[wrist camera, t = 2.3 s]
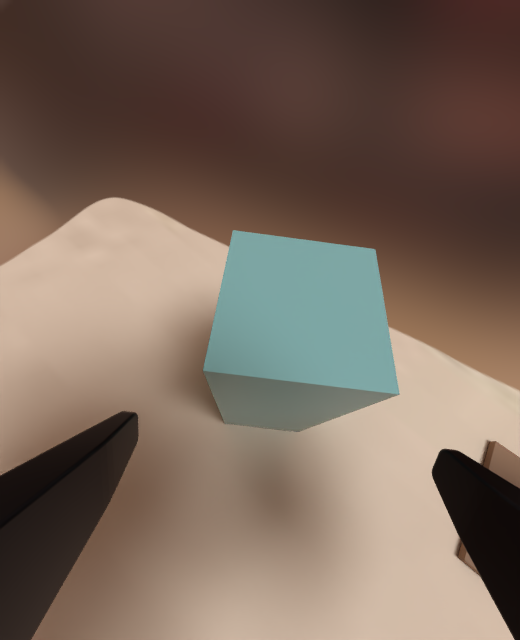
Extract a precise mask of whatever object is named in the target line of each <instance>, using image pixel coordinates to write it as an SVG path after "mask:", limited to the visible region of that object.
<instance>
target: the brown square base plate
mask: <svg viewBox="0 0 520 640" xmlns="http://www.w3.org/2000/svg"><path fill="white" fill-rule="evenodd" d="M483 466H484V467H486V468H487V469H489V470H491V471H492V472H494V473H495V474H497V475H499V476H500V477H502V478H504V479H505V480H507V481H508V482H510V483H512V484H513V485H515V486H517V487H518V488H520V458H519V457H518V456H517V455H515V454H514V453H512V452H511V451H509V450H508V449H506V448H505V447H504V446H502V445H501V444H499V443H498V442H496V441H493V442H490V443H489V447H488V450H487V454H486V457H485V461H484V465H483ZM458 558H459V559H461V560H462V561H463V562H464V563H465V564H467V565H468V566H469V567H470V568H471V569H473V570H474V571H475V572H476V573H477V574H478V575H479V573H478V571H477V569H476V567H475V566H474V564H473V562H472V560H471V558H470V556H469V554H468V553H467V551H466V549H465V547H464V545H463V543H462V544H461V547H460V551H459V554H458Z"/></svg>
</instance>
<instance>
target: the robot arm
mask: <svg viewBox="0 0 520 640" xmlns="http://www.w3.org/2000/svg"><path fill="white" fill-rule="evenodd" d="M137 441H138V415H137V413H135V412H127V411H122V412H119V413H118V414H116V415H114V416H112V417H110V418H108V419H106V420H104V421H102V422H101V423H99V424H97V425H95V426H93V427H91V428H89V429H87V430H85V431H84V432H82V433H80V434H78V435H76V436H74V437H72V438H70V439H68V440H67V441H65V442H63V443H61V444H59V445H57V446H55V447H53V448H51V449H50V450H48V451H46V452H44V453H42V454H40V455H38V456H36V457H34V458H33V459H31V460H29V461H27V462H25V463H23V464H21V465H19V466H17V467H16V468H14V469H12V470H10V471H8V472H6V473H4V474H2V475H0V640H31V639H32V637H33V635H34V633H35V632H36V630H37V628H38V626H39V625H40V623H41V621H42V619H43V618H44V616H45V614H46V613H47V611H48V609H49V607H50V606H51V604H52V602H53V600H54V599H55V597H56V595H57V593H58V592H59V590H60V588H61V586H62V585H63V583H64V581H65V579H66V578H67V576H68V574H69V572H70V571H71V569H72V567H73V565H74V564H75V562H76V560H77V558H78V557H79V555H80V553H81V552H82V550H83V548H84V546H85V545H86V543H87V541H88V539H89V538H90V536H91V534H92V532H93V531H94V529H95V527H96V525H97V524H98V522H99V520H100V518H101V517H102V515H103V513H104V511H105V510H106V508H107V506H108V504H109V502H110V500H111V498H112V496H113V494H114V492H115V490H116V488H117V486H118V483H119V481H120V479H121V477H122V475H123V472H124V470H125V468H126V466H127V464H128V462H129V459H130V457H131V455H132V453H133V451H134V448H135V446H136V444H137ZM432 476H433V480H434V482H435V484H436V486H437V489H438V491H439V493H440V495H441V497H442V500H443V502H444V504H445V506H446V509H447V511H448V513H449V515H450V517H451V520H452V522H453V524H454V526H455V529H456V531H457V533H458V535H459V537H460V539H461V541H462V543H463V545H464V547H465V549H466V551H467V553H468V554H469V556H470V558H471V560H472V562H473V564H474V566H475V567H476V569H477V571H478V573H479V575H480V577H481V578H482V580H483V582H484V584H485V586H486V588H487V590H488V591H489V593H490V595H491V597H492V599H493V601H494V602H495V604H496V606H497V608H498V610H499V612H500V614H501V615H502V617H503V619H504V621H505V623H506V625H507V627H508V628H509V630H510V632H511V634H512V636H513V638H514V639H515V640H520V488H518V487H517V486H515V485H513V484H512V483H510V482H508V481H507V480H505V479H504V478H502V477H500V476H499V475H497V474H495V473H494V472H492V471H491V470H489V469H487V468H486V467H484V466H483V465H481V464H479V463H478V462H476V461H474V460H473V459H471V458H470V457H468V456H466V455H465V454H463V453H461V452H460V451H457V450H452V449H442V450H441V451H440V452H439V454H438V457H437V459H436V461H435V464H434V466H433V469H432Z"/></svg>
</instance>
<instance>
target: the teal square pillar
mask: <svg viewBox="0 0 520 640" xmlns="http://www.w3.org/2000/svg"><path fill="white" fill-rule="evenodd" d="M203 372H204V375H205V377H206V380H207V382H208V384H209V387H210V389H211V392H212V394H213V397H214V399H215V401H216V404H217V406H218V409H219V411H220V413H221V416H222V418H223V421H224V423H225V424H234V425H243V426H251V427H260V428H268V429H277V430H286V431H294V432H299V431H302V430H305V429H307V428H310V427H313V426H316V425H318V424H321V423H324V422H326V421H329V420H332V419H334V418H337V417H340V416H343V415H345V414H348V413H351V412H353V411H356V410H359V409H361V408H364V407H367V406H370V405H372V404H375V403H378V402H380V401H383V400H386V399H388V398H391V397H394V396H397V395H399V389H398V383H397V377H396V371H395V365H394V359H393V353H392V347H391V341H390V335H389V329H388V323H387V317H386V311H385V305H384V299H383V293H382V287H381V282H380V275H379V269H378V263H377V257H376V252H375V249H369V248H362V247H354V246H347V245H339V244H332V243H324V242H317V241H309V240H302V239H294V238H287V237H279V236H272V235H264V234H257V233H249V232H242V231H235V230H233V233H232V238H231V243H230V247H229V251H228V256H227V261H226V265H225V270H224V275H223V279H222V284H221V289H220V293H219V298H218V303H217V307H216V312H215V316H214V321H213V326H212V330H211V335H210V340H209V344H208V349H207V354H206V358H205V363H204V367H203Z"/></svg>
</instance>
